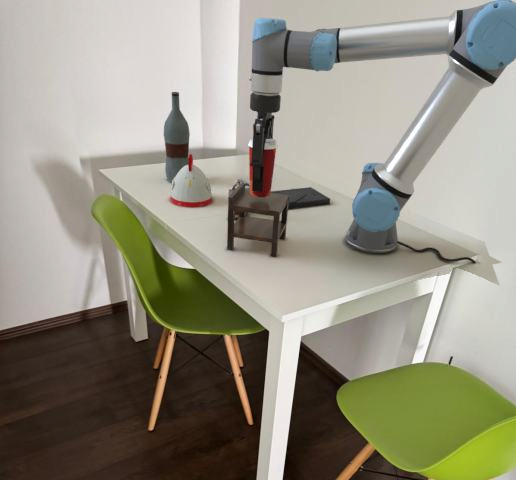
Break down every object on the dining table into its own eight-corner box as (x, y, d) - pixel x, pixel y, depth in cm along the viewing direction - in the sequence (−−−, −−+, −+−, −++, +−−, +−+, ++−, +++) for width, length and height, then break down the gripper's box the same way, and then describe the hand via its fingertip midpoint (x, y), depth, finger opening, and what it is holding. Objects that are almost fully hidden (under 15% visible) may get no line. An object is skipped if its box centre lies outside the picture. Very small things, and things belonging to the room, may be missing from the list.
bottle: (179, 174, 197) (176, 89, 179) (195, 180, 192) (194, 93, 175) (160, 179, 191) (155, 91, 173) (177, 185, 186) (173, 95, 169)
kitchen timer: (168, 206, 168) (166, 159, 159) (173, 192, 179) (171, 148, 171) (210, 207, 169) (211, 161, 160) (212, 194, 180) (212, 150, 171)
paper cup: (279, 195, 138) (284, 141, 130) (259, 200, 134) (262, 145, 126) (259, 187, 143) (262, 135, 135) (239, 192, 138) (241, 138, 130)
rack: (285, 238, 151) (289, 188, 143) (275, 257, 140) (280, 204, 131) (240, 231, 153) (241, 182, 145) (227, 249, 142) (228, 197, 134)
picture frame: (285, 209, 171) (329, 204, 178) (286, 203, 170) (330, 197, 177) (267, 196, 181) (310, 192, 188) (268, 190, 180) (310, 186, 187)
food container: (246, 223, 159) (248, 192, 153) (227, 221, 160) (228, 189, 154) (254, 210, 169) (256, 180, 163) (236, 208, 170) (237, 178, 164)
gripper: (260, 86, 133) (255, 175, 146) (240, 97, 117) (237, 196, 130) (288, 89, 131) (281, 178, 144) (272, 100, 116) (266, 200, 129)
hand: (260, 186), depth 137 cm, fingers closed on paper cup, 7 cm apart
